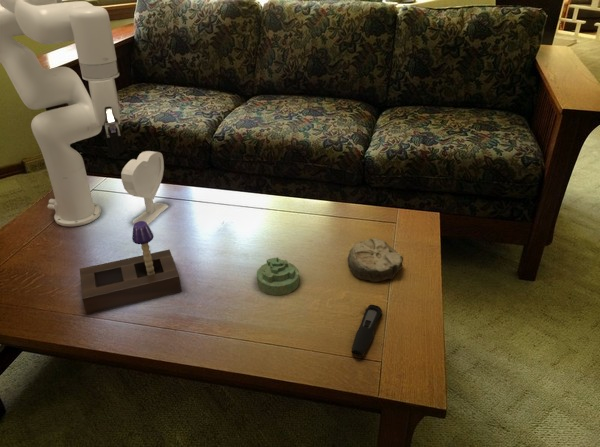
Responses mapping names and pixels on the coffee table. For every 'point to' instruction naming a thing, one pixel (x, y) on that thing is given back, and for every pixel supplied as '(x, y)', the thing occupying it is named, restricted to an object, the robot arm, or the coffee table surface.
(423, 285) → the coffee table surface
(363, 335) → the electric trimmer
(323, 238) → the coffee table surface
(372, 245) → the stone
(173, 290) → the frame
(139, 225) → the toy lamp
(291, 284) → the decorative artifact
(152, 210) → the heart sculpture
